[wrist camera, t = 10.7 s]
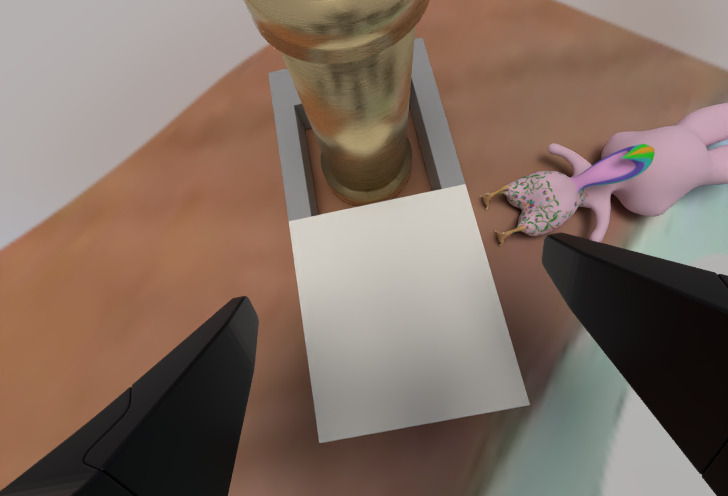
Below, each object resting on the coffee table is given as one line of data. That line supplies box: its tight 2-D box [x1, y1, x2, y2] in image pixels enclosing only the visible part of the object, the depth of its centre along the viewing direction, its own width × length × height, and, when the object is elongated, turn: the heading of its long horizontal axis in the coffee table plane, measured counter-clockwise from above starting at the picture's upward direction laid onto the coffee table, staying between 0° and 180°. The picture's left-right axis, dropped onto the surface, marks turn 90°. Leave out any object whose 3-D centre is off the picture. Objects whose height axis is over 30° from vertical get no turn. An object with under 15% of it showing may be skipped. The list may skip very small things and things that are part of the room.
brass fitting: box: [244, 0, 429, 207], centre depth 14 cm, size 6×6×13 cm
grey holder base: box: [269, 38, 530, 443], centre depth 18 cm, size 22×10×2 cm, turn 11°
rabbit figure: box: [480, 103, 728, 246], centre depth 16 cm, size 6×6×15 cm
